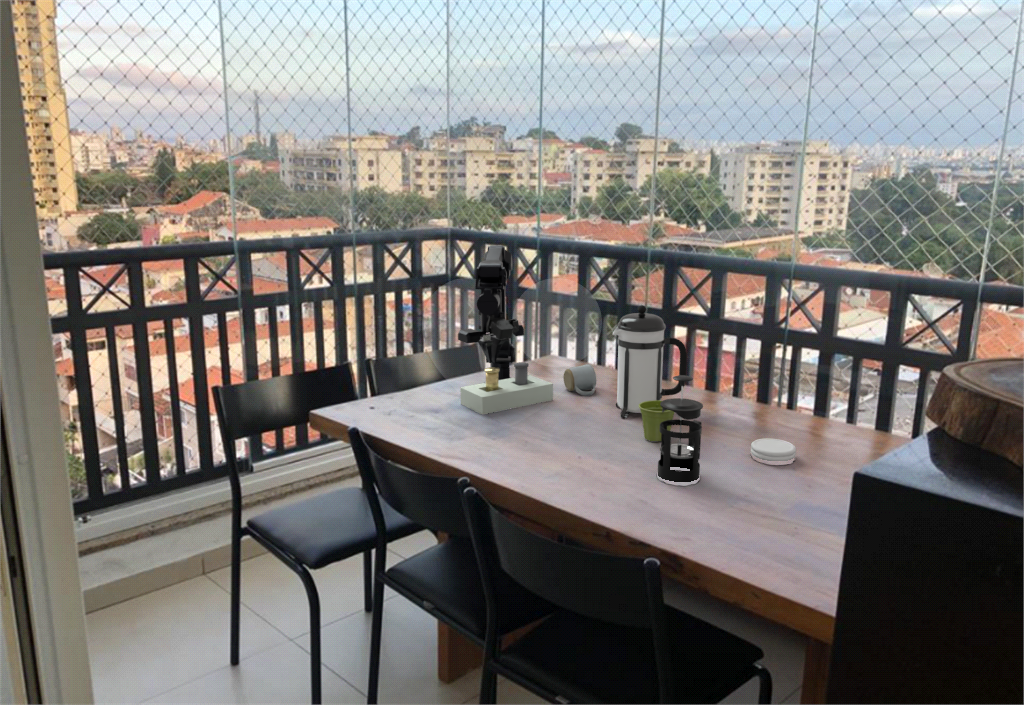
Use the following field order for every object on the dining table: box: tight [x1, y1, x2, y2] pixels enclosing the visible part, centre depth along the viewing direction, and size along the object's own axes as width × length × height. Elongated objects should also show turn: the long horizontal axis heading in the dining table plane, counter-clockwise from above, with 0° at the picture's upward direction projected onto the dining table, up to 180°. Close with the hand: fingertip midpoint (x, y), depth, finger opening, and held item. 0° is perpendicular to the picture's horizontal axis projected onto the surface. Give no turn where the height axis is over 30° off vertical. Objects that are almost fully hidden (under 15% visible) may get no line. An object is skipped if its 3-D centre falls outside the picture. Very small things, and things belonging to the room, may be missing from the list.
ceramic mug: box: [563, 363, 597, 397], centre depth 237 cm, size 11×8×8 cm
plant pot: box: [639, 400, 676, 442], centre depth 196 cm, size 9×9×9 cm
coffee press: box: [612, 304, 688, 419], centre depth 215 cm, size 17×16×30 cm
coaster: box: [750, 437, 797, 461], centre depth 184 cm, size 10×10×4 cm
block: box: [459, 374, 554, 415], centre depth 228 cm, size 12×24×5 cm, turn 123°
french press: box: [657, 374, 704, 482], centre depth 171 cm, size 12×9×23 cm
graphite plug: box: [513, 361, 529, 386], centre depth 229 cm, size 4×4×8 cm
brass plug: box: [484, 366, 499, 392], centre depth 224 cm, size 4×4×8 cm
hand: (491, 362), depth 223 cm, fingers closed
